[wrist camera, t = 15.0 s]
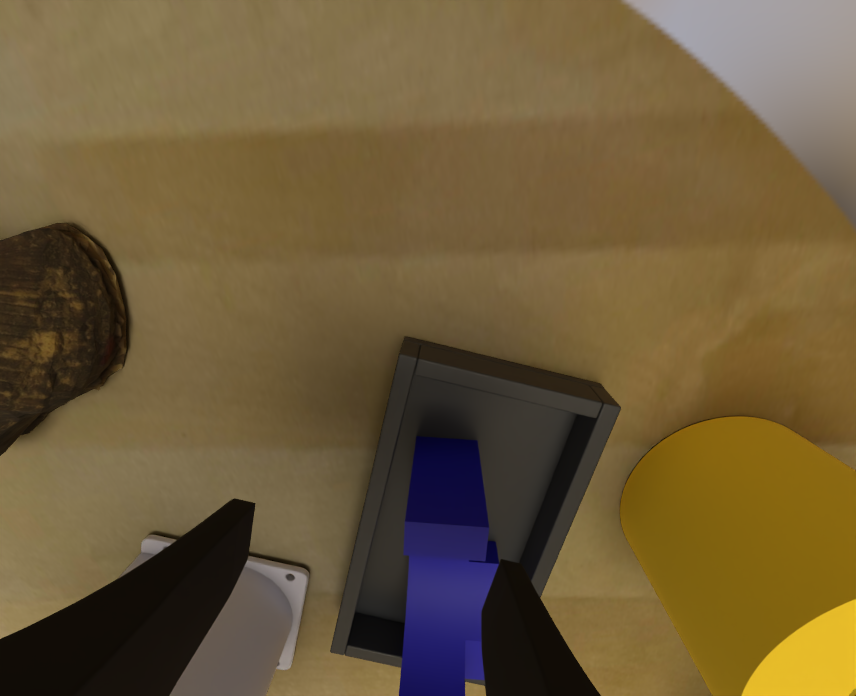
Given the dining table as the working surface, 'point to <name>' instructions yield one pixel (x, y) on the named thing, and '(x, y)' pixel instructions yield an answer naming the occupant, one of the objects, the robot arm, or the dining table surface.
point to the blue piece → (445, 568)
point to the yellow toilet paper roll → (751, 555)
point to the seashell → (54, 324)
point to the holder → (501, 470)
